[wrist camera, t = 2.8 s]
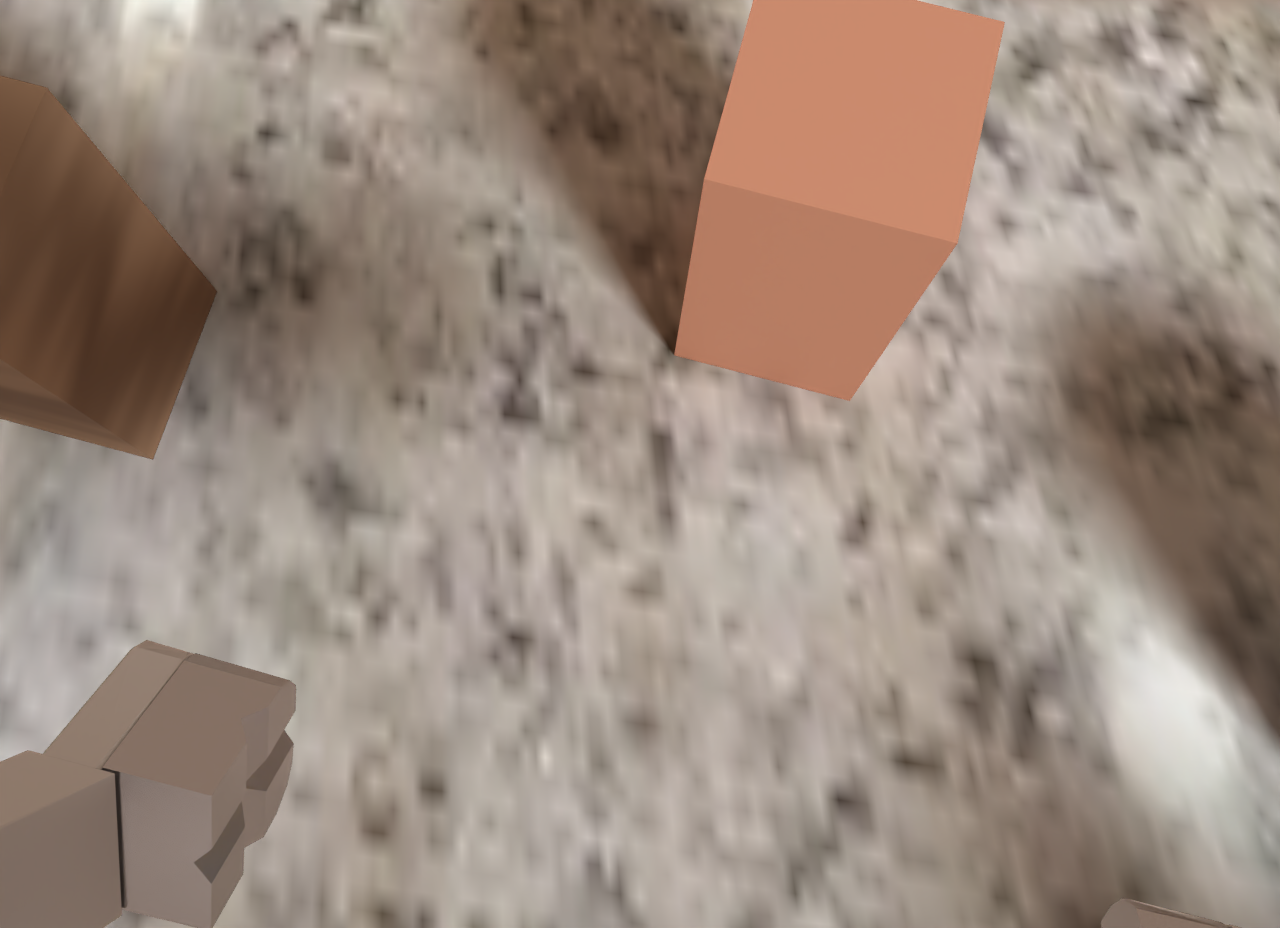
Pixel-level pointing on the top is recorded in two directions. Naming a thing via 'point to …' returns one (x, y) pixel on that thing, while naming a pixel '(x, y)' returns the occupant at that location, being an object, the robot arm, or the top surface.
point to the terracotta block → (834, 185)
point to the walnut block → (86, 287)
